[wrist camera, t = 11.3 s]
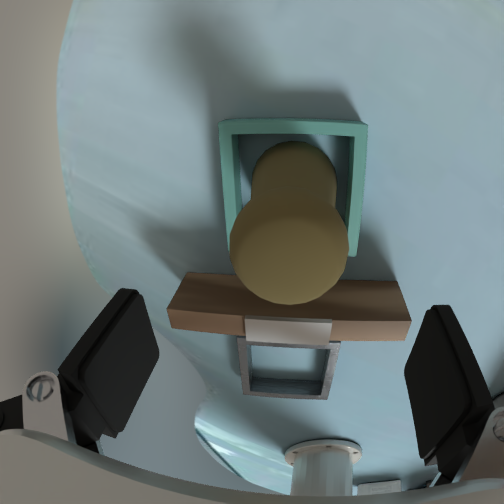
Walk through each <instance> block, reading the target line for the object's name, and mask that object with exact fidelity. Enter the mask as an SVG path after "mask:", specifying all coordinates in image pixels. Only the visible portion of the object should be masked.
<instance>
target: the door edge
mask: <svg viewBox="0 0 504 504" xmlns="http://www.w3.org/2000/svg"><path fill="white" fill-rule="evenodd" d="M167 312H168V316H169V320H170V323H171V327H172V328H175V329H183V330H191V331H200V332H209V333H219V334H230V335H241V336H246V341H256V342H270V343H287V344H307V345H329V340H333V341H404V340H405V338H406V335H407V333H408V330H409V327H410V324H411V322H412V320H411V317H410V315H409V312H408V309H407V306H406V303H405V301H404V298H403V295H402V293H401V290H400V287H399V285H398V282H397V281H367V280H338V281H337V283H336V284H335V285H334V286H333V287H331V288H330V289H329V290H328V291H326V292H325V293H324V294H323V295H321V296H320V297H318V298H316V299H314V300H311V301H309V302H306V303H301V304H293V305H287V304H278V303H273V302H270V301H268V300H265V299H263V298H260V297H259V296H257V295H256V294H254V293H253V292H252V291H250V290H249V289H248V288H247V287H246V286H245V285H244V284H243V282H242V281H241V280H240V278H239V277H238V276H237V275H225V274H208V273H191V272H187V273H186V275H185V277H184V279H183V280H182V282H181V284H180V286H179V287H178V289H177V291H176V293H175V295H174V296H173V298H172V300H171V302H170V304H169V305H168V307H167Z"/></svg>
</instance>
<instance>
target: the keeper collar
mask: <svg viewBox="0 0 504 504" xmlns="http://www.w3.org/2000/svg"><path fill="white" fill-rule="evenodd" d="M237 344H238V353H239V362H240V371H241V380H242V389H243V394H244V395H254V396H265V397H278V398H294V399H320V400H327V399H328V395H329V391H330V387H331V383H332V379H333V375H334V371H335V366H336V362H337V358H338V353H339V349H340V344H341V341H333V340H329V345H307V344H287V343H270V342H256V341H246V336H241V335H237ZM251 345H258V346H273V347H289V348H311V349H327V353H326V358H325V364H324V369H323V374H322V379H321V381H302V380H283V379H269V378H256V377H253V372H252V358H251Z"/></svg>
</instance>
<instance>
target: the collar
mask: <svg viewBox="0 0 504 504" xmlns="http://www.w3.org/2000/svg"><path fill="white" fill-rule="evenodd" d="M218 129H219V143H220V157H221V171H222V184H223V196H224V208H225V220H226V232H227V243H228V252H229V242H230V232H231V230H232V227H233V225H234V222H235V219H236V217H237V215H238V213H239V212H240V211H241V210H242V199H241V182H240V165H239V147H238V134H319V135H339V136H350V145H349V167H348V184H347V198H346V210H345V222H344V224H345V226H346V229H347V234H348V241H349V252H348V256H355V257H356V254H357V246H358V239H359V231H360V222H361V213H362V204H363V193H364V182H365V169H366V153H367V133H368V125H367V124H365V123H363V122H361V121H348V120H331V119H306V118H252V119H227V120H223V121H221V122H219V123H218Z"/></svg>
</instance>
